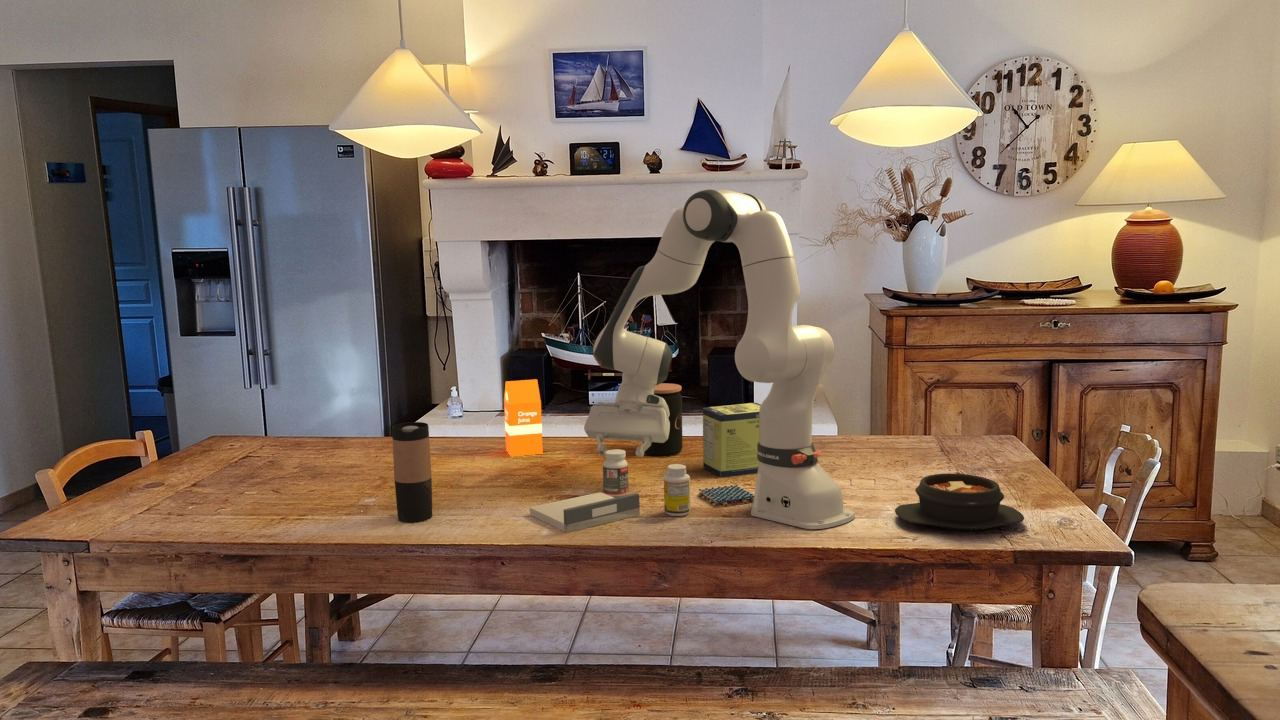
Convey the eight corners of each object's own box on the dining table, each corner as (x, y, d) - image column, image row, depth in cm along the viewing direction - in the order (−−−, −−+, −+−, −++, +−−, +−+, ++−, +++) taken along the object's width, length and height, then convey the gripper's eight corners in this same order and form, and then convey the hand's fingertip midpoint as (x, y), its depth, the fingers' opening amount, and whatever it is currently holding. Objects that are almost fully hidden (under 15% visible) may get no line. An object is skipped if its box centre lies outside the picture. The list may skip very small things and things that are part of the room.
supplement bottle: (670, 507, 201) (669, 461, 200) (694, 510, 199) (693, 464, 198) (660, 515, 196) (659, 468, 195) (684, 518, 194) (684, 470, 193)
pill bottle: (625, 498, 209) (624, 455, 208) (600, 497, 210) (599, 454, 209) (630, 491, 215) (629, 449, 213) (606, 490, 216) (605, 448, 214)
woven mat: (716, 510, 201) (716, 501, 200) (696, 497, 210) (696, 488, 210) (759, 504, 204) (759, 495, 204) (737, 492, 214) (737, 483, 214)
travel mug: (418, 510, 203) (413, 420, 200) (441, 516, 198) (436, 424, 196) (389, 518, 197) (383, 426, 194) (411, 525, 193) (406, 431, 190)
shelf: (640, 515, 197) (639, 494, 196) (567, 532, 186) (567, 511, 186) (600, 499, 209) (599, 479, 208) (530, 514, 198) (529, 494, 198)
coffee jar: (683, 457, 245) (682, 389, 242) (642, 457, 245) (641, 390, 243) (682, 447, 256) (681, 382, 253) (643, 447, 256) (642, 383, 253)
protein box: (776, 470, 230) (777, 409, 228) (720, 478, 224) (720, 415, 222) (756, 461, 240) (756, 401, 237) (701, 468, 234) (701, 407, 232)
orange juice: (505, 451, 255) (502, 379, 252) (537, 448, 258) (534, 377, 255) (510, 457, 248) (507, 383, 245) (543, 454, 250) (540, 381, 247)
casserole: (907, 538, 180) (908, 496, 178) (885, 509, 198) (886, 470, 197) (1038, 537, 179) (1040, 495, 177) (1004, 508, 197) (1005, 469, 196)
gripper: (589, 395, 223) (574, 444, 215) (670, 399, 217) (658, 449, 209) (596, 409, 228) (582, 458, 220) (676, 414, 221) (664, 464, 214)
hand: (619, 454), depth 215 cm, fingers open, 8 cm apart
